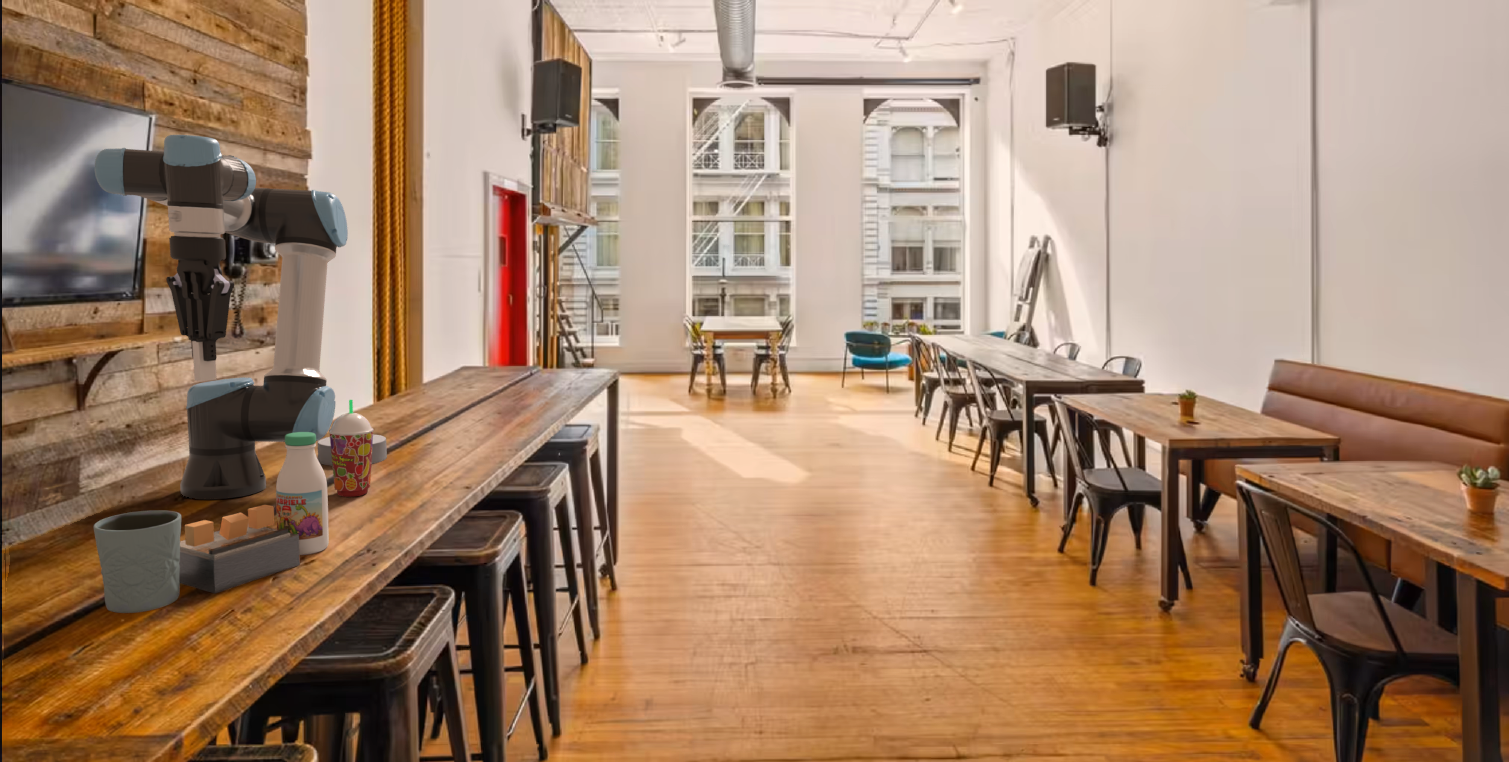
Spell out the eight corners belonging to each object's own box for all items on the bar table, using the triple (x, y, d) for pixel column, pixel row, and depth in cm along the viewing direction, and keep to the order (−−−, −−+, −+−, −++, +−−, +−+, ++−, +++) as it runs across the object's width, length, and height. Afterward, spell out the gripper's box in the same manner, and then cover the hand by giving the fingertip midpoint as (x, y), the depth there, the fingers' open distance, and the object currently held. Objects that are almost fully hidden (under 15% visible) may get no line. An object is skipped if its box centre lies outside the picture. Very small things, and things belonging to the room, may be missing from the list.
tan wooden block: (248, 527, 137) (247, 508, 136) (265, 522, 139) (265, 504, 139) (257, 529, 136) (256, 510, 135) (274, 524, 139) (273, 506, 138)
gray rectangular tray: (162, 578, 130) (160, 540, 129) (249, 552, 143) (247, 517, 142) (215, 593, 125) (213, 554, 124) (299, 564, 138) (298, 529, 137)
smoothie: (321, 495, 177) (319, 400, 174) (353, 486, 185) (352, 395, 182) (351, 501, 174) (349, 404, 171) (383, 491, 182) (381, 399, 179)
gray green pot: (130, 620, 115) (125, 534, 114) (80, 607, 119) (75, 523, 117) (201, 594, 125) (198, 515, 123) (153, 583, 128) (149, 505, 126)
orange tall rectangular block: (185, 544, 127) (184, 525, 127) (205, 538, 130) (204, 520, 130) (194, 546, 127) (193, 527, 126) (214, 541, 129) (213, 522, 129)
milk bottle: (290, 541, 149) (286, 428, 146) (336, 542, 149) (333, 430, 147) (269, 556, 141) (265, 437, 138) (317, 557, 142) (314, 439, 139)
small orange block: (219, 534, 132) (222, 517, 131) (237, 528, 135) (241, 512, 134) (227, 539, 131) (231, 523, 130) (246, 534, 134) (249, 518, 133)
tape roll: (303, 462, 204) (302, 441, 204) (350, 450, 219) (350, 431, 218) (355, 469, 200) (355, 448, 199) (400, 456, 214) (400, 437, 214)
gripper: (146, 232, 136) (156, 378, 140) (202, 236, 131) (211, 387, 135) (192, 234, 143) (200, 373, 146) (247, 237, 138) (254, 381, 142)
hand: (205, 379), depth 141 cm, fingers closed
